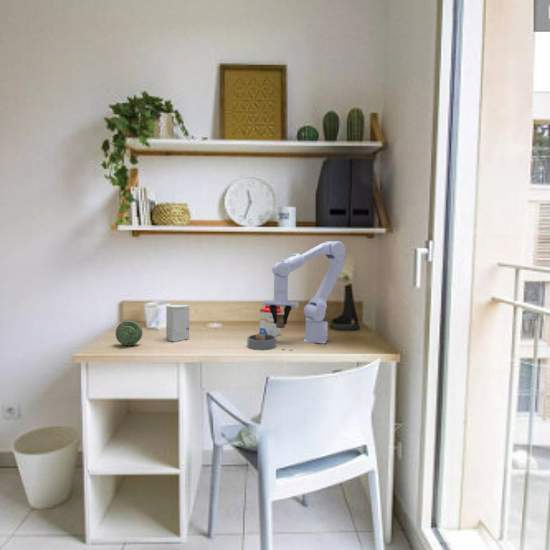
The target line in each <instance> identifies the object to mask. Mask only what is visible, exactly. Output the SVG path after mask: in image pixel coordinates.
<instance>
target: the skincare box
mask: <svg viewBox="0 0 550 550" xmlns="http://www.w3.org/2000/svg"><path fill="white" fill-rule="evenodd" d="M165 309H166V311H165V312H166V316H165V317H166V319H165V321H166V324H165V326H166V328H165V329H166V333H165V335H166V337H165V338H166V340H167V341H169V342H172V341H173V342H172V343H174V341H175V342H180V341H179V340H181V341H185V339H187V340H189V339H190V305H186V304H171V305H166V308H165Z"/></svg>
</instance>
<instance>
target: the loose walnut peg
mask: <svg viewBox="0 0 550 550" xmlns="http://www.w3.org/2000/svg"><path fill="white" fill-rule="evenodd" d="M285 325H286V324H284V314H282V313H281V314H279V315H276V327H277V328H280V329H284V328H286V327H285Z"/></svg>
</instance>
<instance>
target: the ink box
mask: <svg viewBox="0 0 550 550" xmlns="http://www.w3.org/2000/svg"><path fill="white" fill-rule="evenodd" d="M269 307H270V306H264V307H262V308H260V310H259V334H267V335H272V336H275V337H278V336H280V335H281V328H277V327H276V324H274V319H273V316H272V313H271V311H270V309H269ZM281 312H282V310H281V306H277V315H279V314H282V313H281Z"/></svg>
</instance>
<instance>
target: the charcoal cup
mask: <svg viewBox="0 0 550 550" xmlns="http://www.w3.org/2000/svg"><path fill="white" fill-rule="evenodd" d="M257 334H258V333H257ZM257 334H251V335H249V336H247V338H246V339H247V340H246V341H247V342H246V344H247V345H246V346H247V347H248V349H250V350H254V351H255V350H257V351H258V350H259V351H266V350H269V351H270V350H273V349H275V348H276V347H277V336H272V335H267V334H264V335H265V341H259V340H256V335H257Z"/></svg>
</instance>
